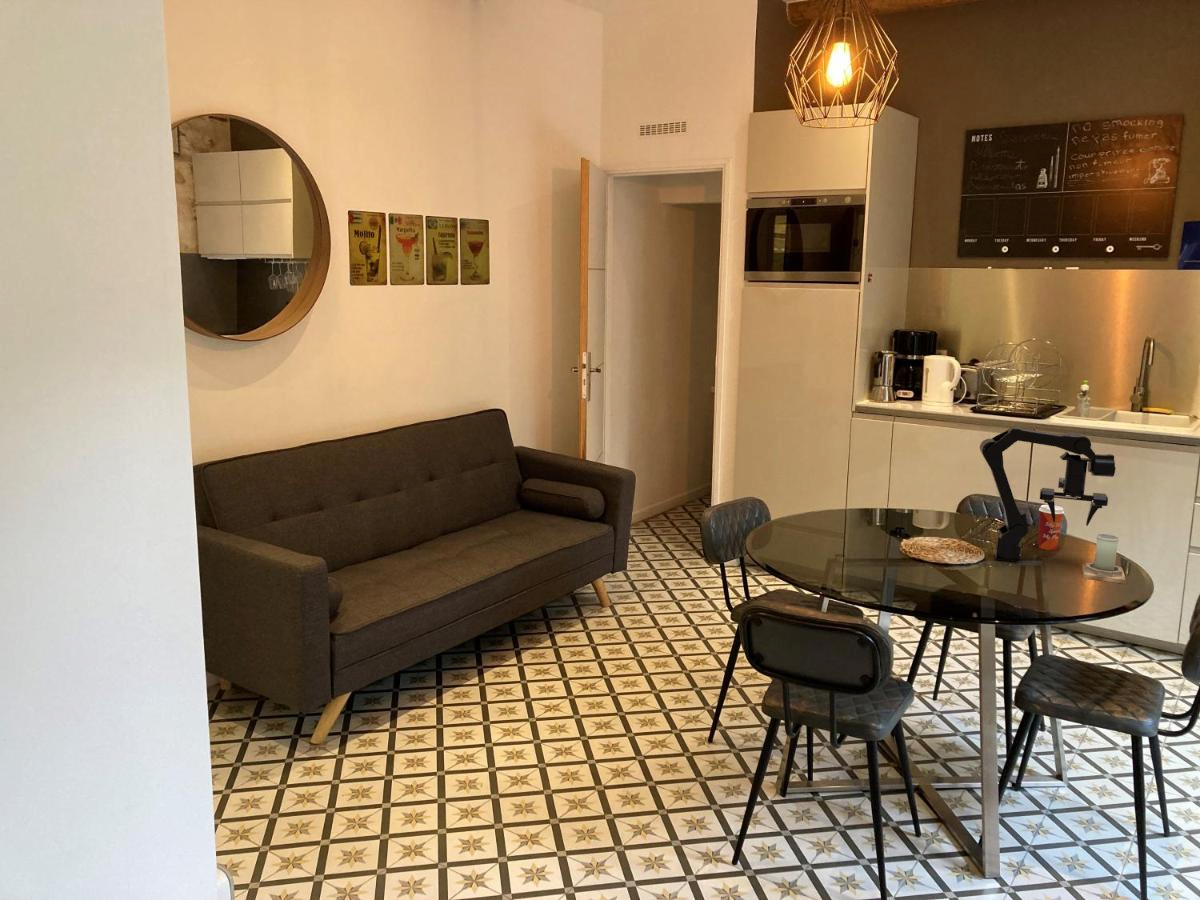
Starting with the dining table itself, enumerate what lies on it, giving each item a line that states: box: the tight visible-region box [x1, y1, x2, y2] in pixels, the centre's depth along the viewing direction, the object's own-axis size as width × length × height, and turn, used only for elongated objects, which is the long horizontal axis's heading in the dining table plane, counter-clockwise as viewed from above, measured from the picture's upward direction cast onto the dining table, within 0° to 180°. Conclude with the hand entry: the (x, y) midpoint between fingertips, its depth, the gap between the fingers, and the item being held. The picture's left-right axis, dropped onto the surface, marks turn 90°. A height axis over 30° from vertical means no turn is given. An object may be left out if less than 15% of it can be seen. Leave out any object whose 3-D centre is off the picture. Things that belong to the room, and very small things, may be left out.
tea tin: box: [1093, 533, 1120, 571], centre depth 283 cm, size 6×6×11 cm
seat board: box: [1081, 561, 1127, 585], centre depth 284 cm, size 11×11×3 cm
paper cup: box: [1037, 504, 1065, 551], centre depth 311 cm, size 8×8×14 cm
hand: (1070, 523), depth 293 cm, fingers open, 9 cm apart
